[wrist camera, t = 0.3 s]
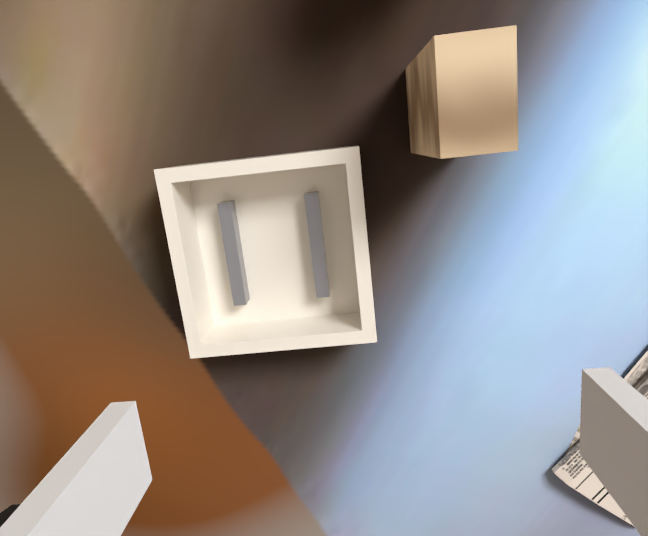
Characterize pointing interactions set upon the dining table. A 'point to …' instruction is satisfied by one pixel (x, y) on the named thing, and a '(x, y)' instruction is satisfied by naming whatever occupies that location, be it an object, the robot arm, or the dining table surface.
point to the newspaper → (576, 470)
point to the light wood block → (464, 94)
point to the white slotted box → (270, 252)
